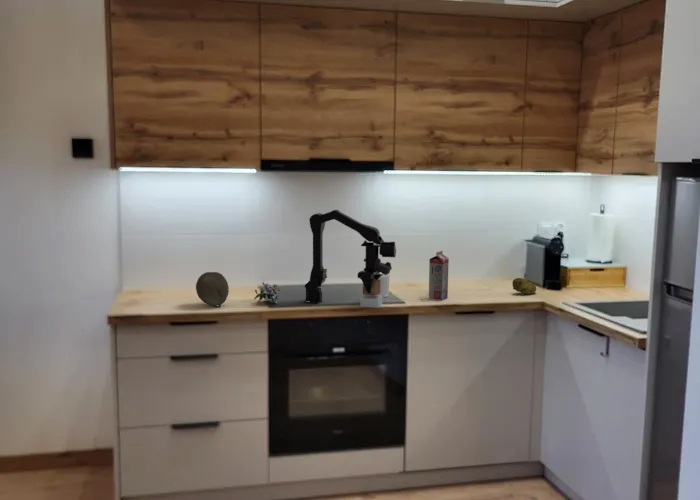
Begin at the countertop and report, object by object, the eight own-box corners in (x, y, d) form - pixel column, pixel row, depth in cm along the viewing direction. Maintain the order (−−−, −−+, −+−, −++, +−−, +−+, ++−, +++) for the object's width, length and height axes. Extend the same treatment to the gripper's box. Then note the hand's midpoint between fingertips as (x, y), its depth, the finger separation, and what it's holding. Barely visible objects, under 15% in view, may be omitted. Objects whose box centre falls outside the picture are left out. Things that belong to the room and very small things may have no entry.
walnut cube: (362, 294, 289) (362, 281, 288) (367, 292, 295) (367, 278, 294) (375, 295, 287) (375, 282, 286) (380, 293, 292) (380, 279, 292)
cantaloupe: (232, 302, 294) (231, 269, 292) (225, 309, 280) (224, 275, 278) (200, 302, 295) (199, 269, 292) (192, 309, 281) (191, 274, 278)
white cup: (379, 298, 305) (379, 277, 304) (369, 295, 312) (369, 274, 311) (392, 296, 310) (393, 275, 308) (382, 293, 316) (383, 273, 315)
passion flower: (275, 315, 293) (280, 297, 285) (251, 312, 291) (255, 293, 284) (277, 297, 302) (282, 279, 294) (253, 293, 300) (257, 275, 292)
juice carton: (447, 298, 307) (448, 251, 304) (441, 300, 302) (443, 252, 299) (434, 296, 311) (435, 250, 308) (428, 299, 305) (429, 251, 302)
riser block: (360, 307, 289) (360, 298, 288) (364, 303, 296) (364, 294, 296) (378, 308, 287) (378, 299, 286) (382, 304, 294) (382, 295, 294)
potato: (540, 295, 315) (541, 278, 314) (515, 296, 313) (515, 279, 312) (533, 292, 323) (534, 275, 322) (508, 292, 321) (509, 276, 320)
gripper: (381, 260, 277) (381, 297, 279) (396, 255, 294) (395, 289, 296) (357, 258, 281) (356, 294, 283) (373, 253, 298) (372, 287, 300)
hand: (371, 291), depth 291 cm, fingers closed on walnut cube, 6 cm apart
